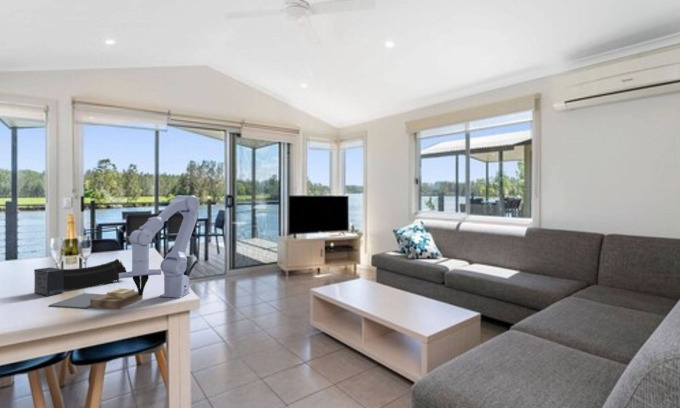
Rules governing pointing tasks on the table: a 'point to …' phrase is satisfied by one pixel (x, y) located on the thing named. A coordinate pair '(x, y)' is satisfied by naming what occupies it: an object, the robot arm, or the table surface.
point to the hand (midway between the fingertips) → (140, 294)
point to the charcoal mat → (77, 301)
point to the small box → (48, 281)
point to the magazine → (92, 275)
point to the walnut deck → (114, 301)
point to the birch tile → (120, 293)
